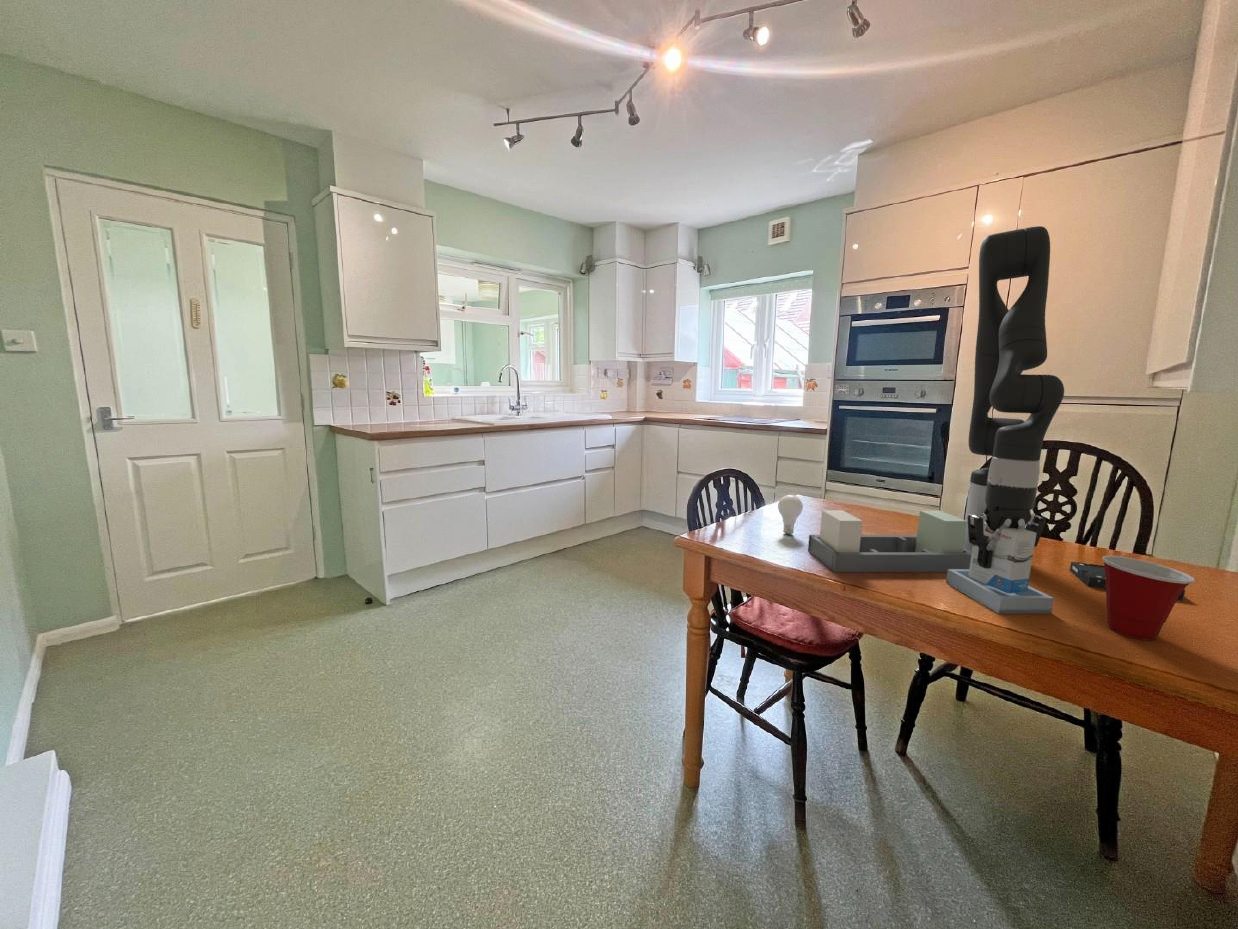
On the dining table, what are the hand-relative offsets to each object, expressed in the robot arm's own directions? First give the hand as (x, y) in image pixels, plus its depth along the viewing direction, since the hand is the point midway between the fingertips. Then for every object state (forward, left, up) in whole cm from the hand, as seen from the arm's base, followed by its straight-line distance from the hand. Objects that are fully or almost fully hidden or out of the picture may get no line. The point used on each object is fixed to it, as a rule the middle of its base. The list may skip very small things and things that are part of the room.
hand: (999, 566), depth 98 cm
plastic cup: (-13, +14, -6) cm, 20 cm away
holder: (+10, -20, -6) cm, 23 cm away
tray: (0, 0, -6) cm, 6 cm away
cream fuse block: (+22, -20, -6) cm, 30 cm away
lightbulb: (+26, -40, -6) cm, 48 cm away
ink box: (0, 0, -4) cm, 4 cm away
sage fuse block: (-2, -20, -6) cm, 21 cm away
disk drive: (-33, -6, -7) cm, 34 cm away
